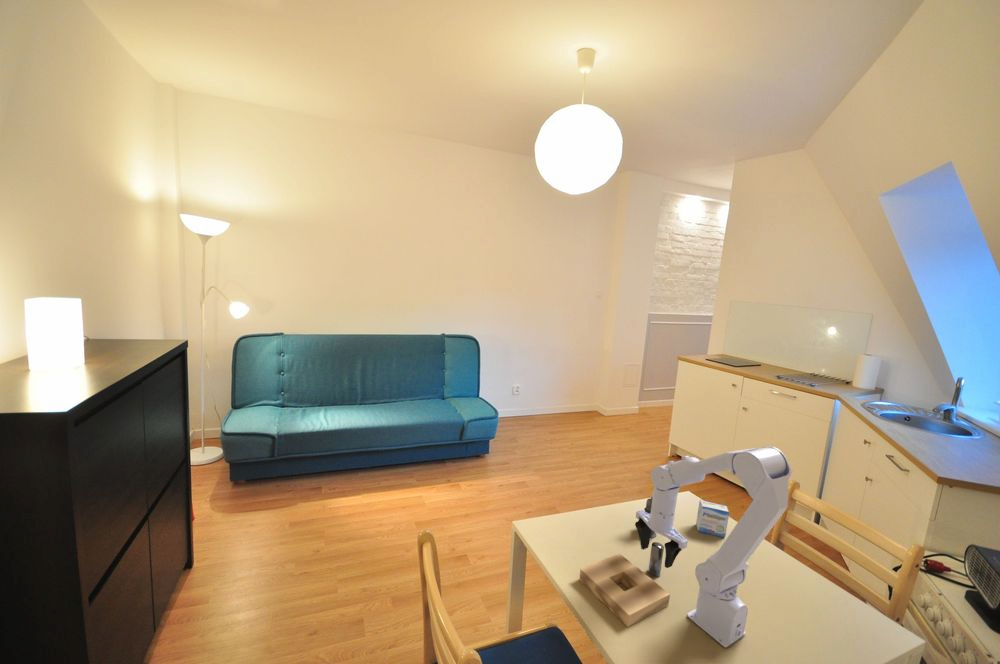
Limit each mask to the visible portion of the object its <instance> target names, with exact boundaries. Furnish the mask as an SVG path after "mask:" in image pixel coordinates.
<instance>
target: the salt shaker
mask: <svg viewBox="0 0 1000 664" xmlns="http://www.w3.org/2000/svg"><path fill="white" fill-rule="evenodd" d="M652 499H653V496H651V498H650V497H649V498H648V499H646V503H645V507H644V508H643V511H644V512H646V513H649V514H650V513H651V506H652ZM656 537H657V533H656V532H654V531H653V530H652V532H651V535H650V539H655V538H656Z"/></svg>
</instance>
